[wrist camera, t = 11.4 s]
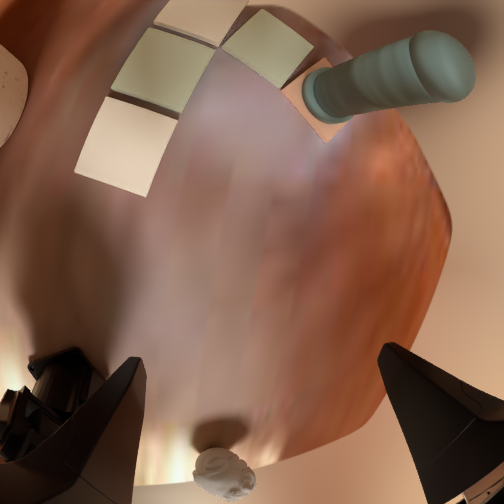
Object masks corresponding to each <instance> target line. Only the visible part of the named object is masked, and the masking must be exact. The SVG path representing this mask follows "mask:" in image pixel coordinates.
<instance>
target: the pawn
mask: <svg viewBox="0 0 504 504" xmlns="http://www.w3.org/2000/svg"><path fill="white" fill-rule="evenodd" d="M475 80H476V71H475V66H474V63H473V60H472V58H471V56H470V54H469V52H468V51H467V50H466V48H465V47H464V46H463V45H462V44H461V43H460V42H459V41H457V40H456V39H455V38H453V37H452V36H450V35H448V34H446V33H443V32H439V31H432V30H430V31H423V32H420V33H417V34H416V35H414V36H412V37H409V38H406V39H403V40H400V41H397V42H394V43H391V44H389V45H386V46H383V47H381V48H378V49H375V50H373V51H370V52H368V53H365V54H363V55H360V56H358V57H355V58H353V59H351V60H348V61H346V62H344V63H342V64H339V65H337V66H335V67H333V68H331V67H322V68H319V69H317V70H315V71H313V72H312V73H310V74H309V75H307V76H306V78H305V79H304V81H303V84H302V97H303V101H304V103H305V105H306V107H307V109H308V111H309V112H310V113H311V114H312V115H313V116H314V117H315V118H316V119H318V120H319V121H321V122H323V123H326V124H338V123H343V122H346V121H348V120H350V119H351V118H352V117H353V116H354V115H357V114H362V113H367V112H372V111H378V110H384V109H390V108H396V107H403V106H410V105H417V104H426V103H433V102H434V103H435V102H445V103H452V102H458V101H461V100H462V99H464V98H466V97H467V96H468V95H469V94H470V92H471V91H472V89H473V87H474V84H475Z"/></svg>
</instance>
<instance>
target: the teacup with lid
mask: <svg viewBox="0 0 504 504" xmlns="http://www.w3.org/2000/svg"><path fill="white" fill-rule="evenodd" d="M27 93H28V77H27V72H26V70H25V67H24V66H23V64H22V63H21V62H20V61H19V60H18V59H16V58H15V57H14V56H13V55H12V54H11V53H10V52H9V51H8V50H6V49H5V48H4V47H3V46H2V45H1V44H0V148H1V147H2V145H3V144H4V143H5V142H6V141H7V139H8V138H9V137H10V135H11V134H12V132H13V130H14V129H15V127H16V125H17V123H18V121H19V119H20V117H21V114H22V112H23V109H24V106H25V102H26V98H27Z"/></svg>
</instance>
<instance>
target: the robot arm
mask: <svg viewBox="0 0 504 504" xmlns="http://www.w3.org/2000/svg"><path fill="white" fill-rule="evenodd" d="M74 352H77V353H78V354H75V353H74ZM377 362H378V366H379V369H380V372H381V376H382V379H383V382H384V385H385V389H386V392H387V394H388V397H389V400H390V402H391V404H392V407H393V409H394V411H395V414H396V416H397V419H398V421H399V424H400V426H401V429H402V431H403V433H404V436H405V439H406V442H407V444H408V447H409V450H410V452H411V455H412V458H413V461H414V463H415V466H416V469H417V472H418V475H419V478H420V481H421V484H422V487H423V490H424V493H425V497H426V500H427V503H428V504H445V503H446V502H448V501H450V500H451V499H453V498H455V497H456V496H458V495H459V494H461V493H462V495H463V497H464V498H463V499H462V500H461V501H459V502H458V503H456V504H504V400H501V399H499V398H497V397H494V396H492V395H490V394H488V393H485V392H483V391H481V390H478V389H477V388H475V387H473V386H471V385H469V384H467V383H465V382H463V381H462V380H459V379H458V378H456V377H454V376H453V375H451V374H449V373H447V372H445V371H444V370H442V369H440V368H439V367H437V366H435V365H433V364H432V363H430V362H428V361H426V360H425V359H422V358H421V357H419V356H417V355H416V354H414V353H412V352H410V351H409V350H407V349H405V348H403V347H402V346H400V345H398V344H396V343H395V342H390V343H385V344H384V345H383V347H382V349H381V352H380V354H379V356H378V360H377ZM27 367H28V370H29V371H30V373H31V374H32V375H33V377H34V378H35V379H36V383H35V386H34V388H33V390H32V393H31V392H30V390H29V389H28V388H27V387H26V386H25V385H24V386H23V388H22V389H21V390H20V391H13V390H9V389H7V391H6V392H5V394H4V396H3V398H2V400H1V402H0V504H131V503H132V492H133V484H134V476H135V469H136V462H137V455H138V448H139V442H140V436H141V430H142V424H143V418H144V408H145V392H146V379H147V376H146V371H145V368H144V364H143V361H142V359H141V358H140V357H129V358H128V359H127V360H126V361H125V362H124V363H123V364H122V365H121V366H120V367H119V368H118V369H117V370H116V371H115V372H114V373H113V374H112V375H111V376H110V377H109V378H108V379H107V380H106V381H105V382H104V380H103V379H102V378H101V376H100V375H99V373H98V372H97V371H96V369H95V368H94V367H92V366H91V364H90V363H89V361H88V360H87V358H86V357H85V355H84V354H83V352H82V351H81V350H80V348H78V347H72V348H69V349H66V350H63V351H61V352H58V353H55V354H52V355H49V356H46V357H44V358H41V359H38V360H35V361H32V362H30V363H29V364H28V366H27ZM32 367H33V368H34V369H33V368H32Z"/></svg>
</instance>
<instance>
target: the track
mask: <svg viewBox="0 0 504 504" xmlns="http://www.w3.org/2000/svg"><path fill="white" fill-rule="evenodd" d="M247 3H248V1H247V0H170V1H169V2H168V3H167V4H166V5H165V7H164V8H163V9H162V10H161V12H160V13H159V14H158V16H157V17H156V18H155V19H154V23H153V24H154V25H157V26H160V27H164V28H167V29H170V30H173V31H176V32H179V33H182V34H185V35H188V36H191V37H194V38H197V39H199V40H202V41H204V42H207V43H210V44H212V45H214V46H217V47H219V45H220V43H221V42H222V40H223V39H224V37H225V36H226V34H227V32H228V31H229V29H230V28H231V26H232V25H233V23H234V22H235V20H236V19H237V17H238V16H239V14H240V13H241V12H242V10H243V9H244V7H245V6H246V5H247ZM313 47H314V46H313V45H311V44H310V43H309V42H308V41H306V40H305V39H304V38H303V37H301V36H300V35H299V34H298V33H296V32H295V31H294V30H292V29H291V28H290V27H288V26H287V25H286V24H284V23H283V22H281V21H280V20H279V19H277V18H276V17H274V16H273V15H271V14H270V13H268V12H267V11H265V10H264V9H261V10H260V11H258V12H257V13H256V14H255V15H254V16H253V17H252V18H251V19H249V20H248V21H247V22H246V23H245V24H244V25H243V26H242V27H241V28H240V29H239V30H238V31H237V32H236V33H234V34H233V35H232V36H231V37H230V38H229V39H228V40H227V41H226V42H225V43H224V44H223V46H222V47H221V49H223V50H224V51H226V52H227V53H229V54H230V55H232V56H233V57H235V58H236V59H238V60H239V61H241V62H242V63H244V64H245V65H247V66H248V67H250V68H251V69H252V70H254V71H255V72H257V73H258V74H259V75H261V76H262V77H264V78H265V79H266V80H268V81H269V82H270V83H272V84H273V85H274V86H276V87H277V88H278V89H279V88H280V87H282V86H283V84H284V83H285V82H286V80H287V79H288V78H289V77H290V75H291V74H292V73H293V72H294V70H295V69H296V68H297V67H298V66H299V64H300V63H301V62H302V61H303V59H304V58H305V57H306V56H307V55H308V53H309V52H310V51H311V50H312V49H313ZM215 51H216V50H214V49H212V48H209V47H207V46H204V45H201V44H199V43H196V42H193V41H191V40H188V39H185V38H182V37H179V36H176V35H173V34H170V33H167V32H164V31H161V30H157V29H154V28H150V27H149V28H148V29H147V30H146V32H145V33H144V35H143V36H142V37H141V39H140V40H139V42H138V43H137V45H136V46H135V48H134V49H133V51H132V52H131V54H130V56H129V57H128V59H127V60H126V62H125V64H124V65H123V67H122V69H121V70H120V72H119V74H118V76H117V77H116V79H115V81H114V83H113V85H112V86H111V89H112V90H113V91H117V92H120V93H123V94H126V95H130V96H133V97H136V98H139V99H142V100H145V101H148V102H151V103H154V104H156V105H159V106H162V107H165V108H167V109H170V110H173V111H176V112H178V113H181V114H182V112H183V110H184V108H185V106H186V104H187V102H188V100H189V98H190V96H191V94H192V92H193V91H194V89H195V87H196V85H197V83H198V81H199V79H200V78H201V76H202V74H203V72H204V70H205V69H206V67H207V65H208V63H209V62H210V60H211V58H212V57H213V55H214V53H215ZM322 67H331V68H333V66H332V65H331V64H330V63H329V62H328V60H327V59H326V58H325V57H324V58H322V59H321V60H319V61H318V62H317V63H315V64H314V65H313V66H311V67H310V68H309V69H307V70H306V71H305V72H303V73H302V74H301V75H300V76H298V77H297V78H296V79H294V80H293V81H292V82H291V83H289V84H288V85H287V86H286V87H284V88H283V89H282V90H281V92H282V93H283V94H284V95H285V96H286V97H287V98H288V99H289V100H290V102H291V103H292V104H293V105H294V106H295V107H296V108H297V110H298V111H299V112H300V113H301V114H302V115H303V117H304V118H305V119H306V120H307V121H308V123H309V124H310V125H311V126H312V127H313V129H314V130H315V131H316V132H317V134H318V135H319V136H320V137H321V139H322V140H323V141H324V142H329V141H330V140H331V139H332V138H333V137H334V136H335V135H336V133H337V132H338V131H339V130H340V129H341V128H342V127H343V126H344V125H345V124H346V123H347V122H348V121H349V120H348V121H346V122H343V123H338V124H326V123H323V122H321V121H319V120H318V119H316V118H315V117H314V116H313V115H312V114H311V113H310V112H309V111H308V109H307V107H306V105H305V103H304V101H303V97H302V84H303V81H304V79H305V78H306V76H307V75H309V74H310V73H312V72H313V71H315V70H317V69H319V68H322ZM177 123H178V120H175V119H172V118H170V117H167V116H164V115H161V114H159V113H156V112H153V111H150V110H147V109H144V108H141V107H139V106H136V105H133V104H129V103H126V102H123V101H120V100H117V99H114V98H110V97H107V96H106V98H105V100H104V102H103V104H102V106H101V108H100V110H99V112H98V114H97V116H96V118H95V121H94V123H93V125H92V127H91V130H90V132H89V134H88V137H87V139H86V141H85V144H84V146H83V149H82V151H81V154H80V157H79V159H78V162H77V165H76V168H75V170H74V172H75V173H78V174H81V175H84V176H87V177H89V178H92V179H95V180H98V181H101V182H104V183H107V184H110V185H113V186H115V187H118V188H121V189H124V190H127V191H130V192H133V193H135V194H138V195H141V196H144V197H147V194H148V191H149V189H150V186H151V183H152V181H153V178H154V176H155V173H156V171H157V168H158V166H159V163H160V161H161V158H162V156H163V154H164V151H165V149H166V147H167V145H168V142H169V140H170V138H171V136H172V133H173V131H174V129H175V127H176V125H177Z"/></svg>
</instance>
